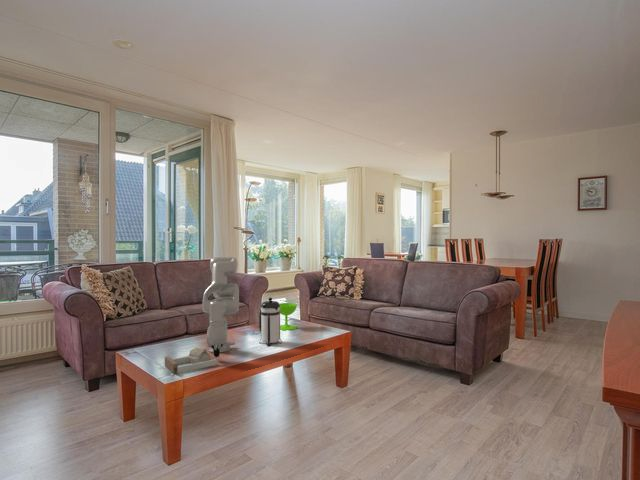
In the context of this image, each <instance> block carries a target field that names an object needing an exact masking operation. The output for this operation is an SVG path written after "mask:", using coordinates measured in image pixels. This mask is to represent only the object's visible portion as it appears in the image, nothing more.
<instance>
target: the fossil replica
mask: <svg viewBox="0 0 640 480" xmlns="http://www.w3.org/2000/svg"><path fill="white" fill-rule="evenodd" d="M188 360H189V361H190V363H191V364H194V363H199V362H204V361H209V360H211V355H210V353H209V352H208V350H207V349H205V348H201V347H200V348H199V347H195V348H193V349H191V350H189V354H188Z"/></svg>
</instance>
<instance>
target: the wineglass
mask: <svg viewBox="0 0 640 480" xmlns="http://www.w3.org/2000/svg"><path fill="white" fill-rule="evenodd" d="M279 304H280V315H283V316H284V324H280V330H282V332H283V331H285V332H286V330H290V331H295V330H297V329H296V328H298V327H297V326H296V325H294V324H288V322H289V319H288V317H289V316H291V315H292V314H293V313H294V312H296V309H297V304H296V303H292V302H283V303H280V302H279ZM294 329H295V330H294Z"/></svg>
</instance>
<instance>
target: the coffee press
mask: <svg viewBox="0 0 640 480" xmlns="http://www.w3.org/2000/svg"><path fill="white" fill-rule="evenodd" d="M258 314H259V315H258V317H259V319H258V325H259V331H260V340H259V344H262V343H265V344H267V347H270V346H271V344H274V343H279V344H282V343H283V341H282V340H281V331H280V325H281V314H280V302H279V301H276V300H273V298H272V297H269V298H268V300H266V301H263V302H261V305H260V310H259V313H258Z"/></svg>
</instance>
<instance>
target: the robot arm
mask: <svg viewBox="0 0 640 480" xmlns="http://www.w3.org/2000/svg"><path fill="white" fill-rule="evenodd" d="M209 269H210V272H211V282H210V283H211V284H210V285H208V287H207V288H206V289H205V291H204V292H203V294H202V295H203V296H202V305H201V307H202V308H201V309H202V312H204V313H206V314H209V326H208V327H207V331H206V340H205V341H206V344H207V345H206V348H208V352H210V353H213V356H214V357H215V358H220V355H221V353H225V352H228V351H230V350H231V346H234V345H236V342H235V341H228V320H227V318H226V316H225V315H230V314H232V315H233V314H234V315H235V314H237V313H238V312H239V308H240V289H239V285H238V284H236V283H228V277H227V276H233V275H236V273H237V269H238V259H237V258H236V257H232V256H230V257H227V256H225V257H223V256H220V257H213V258H211V259H210V261H209ZM212 294H213V297H214V299H209V297H210V296H211V295H212Z"/></svg>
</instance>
